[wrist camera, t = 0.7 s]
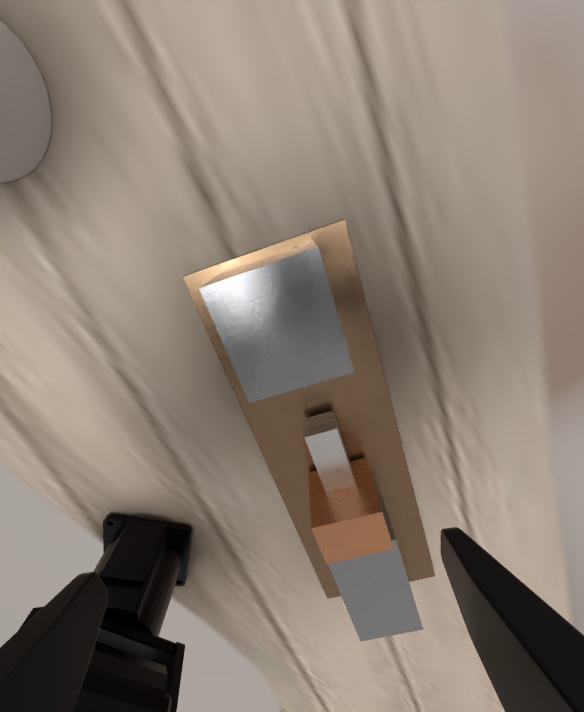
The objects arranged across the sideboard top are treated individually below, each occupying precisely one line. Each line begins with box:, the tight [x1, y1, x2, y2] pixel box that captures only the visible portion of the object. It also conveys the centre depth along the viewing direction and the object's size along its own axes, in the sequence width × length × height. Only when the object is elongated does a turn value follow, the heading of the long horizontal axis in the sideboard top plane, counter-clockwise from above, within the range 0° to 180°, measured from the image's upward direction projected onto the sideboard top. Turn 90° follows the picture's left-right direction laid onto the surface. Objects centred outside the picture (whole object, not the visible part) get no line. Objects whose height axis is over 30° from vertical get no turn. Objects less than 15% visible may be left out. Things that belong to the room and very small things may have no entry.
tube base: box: [183, 220, 435, 641], centre depth 21 cm, size 28×9×4 cm, turn 18°
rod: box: [304, 411, 394, 564], centre depth 21 cm, size 16×4×4 cm, turn 18°
